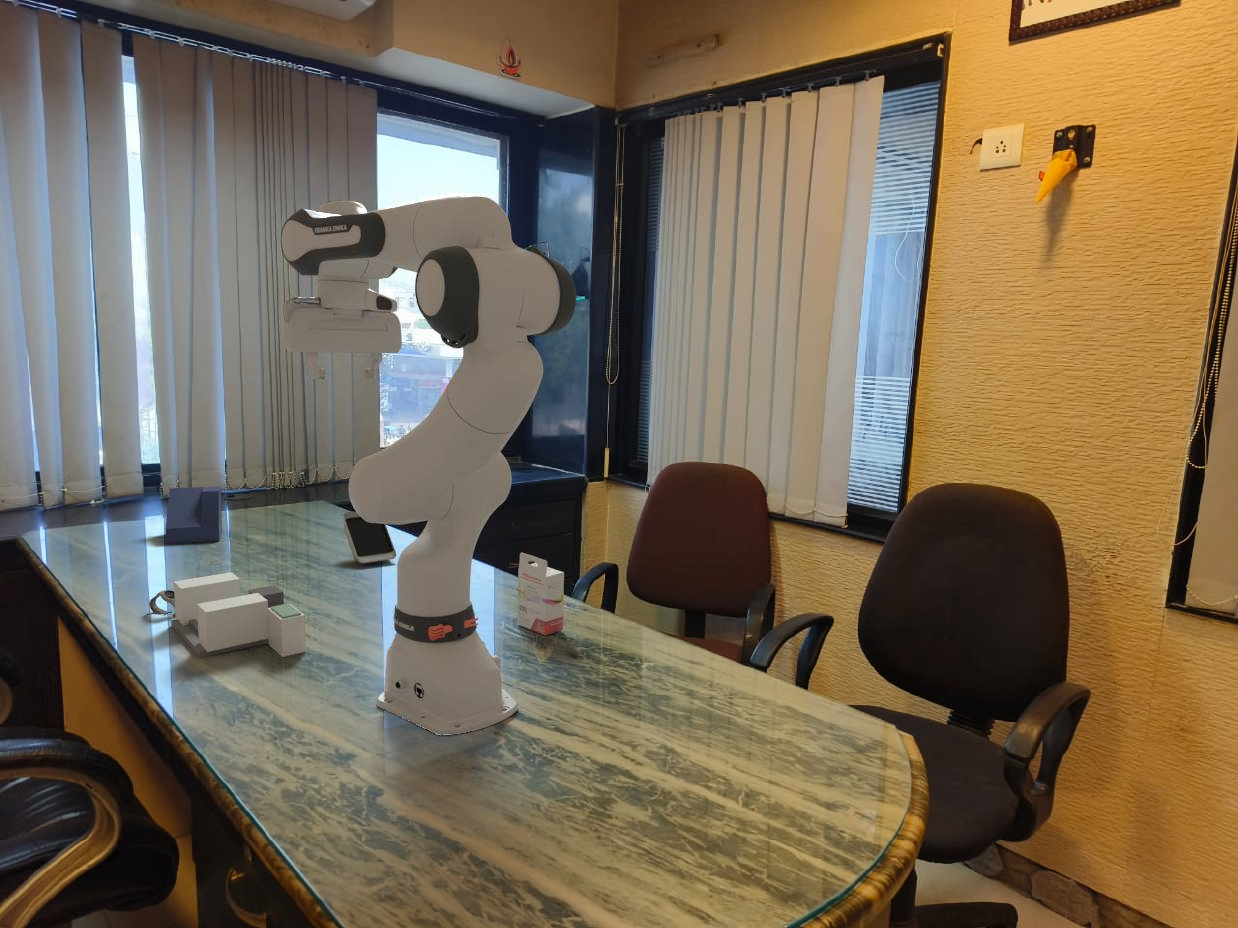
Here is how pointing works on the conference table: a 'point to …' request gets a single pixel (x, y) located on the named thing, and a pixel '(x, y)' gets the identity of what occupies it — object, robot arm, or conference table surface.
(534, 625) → the ink cartridge box
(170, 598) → the wristwatch
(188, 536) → the phone stand
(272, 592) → the grey cube-like block
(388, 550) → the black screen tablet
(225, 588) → the rail base
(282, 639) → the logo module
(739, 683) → the conference table surface
